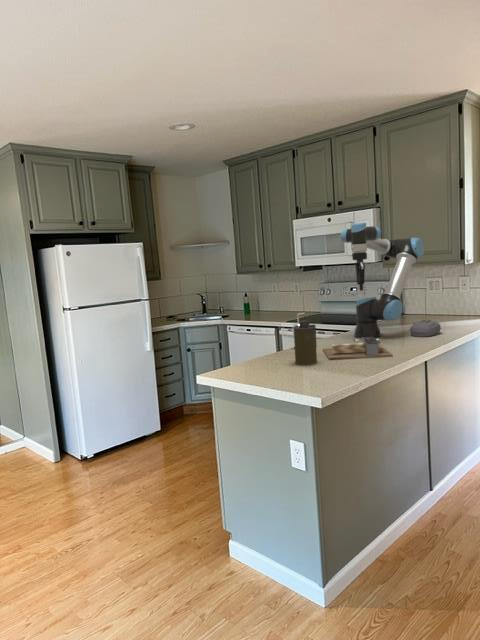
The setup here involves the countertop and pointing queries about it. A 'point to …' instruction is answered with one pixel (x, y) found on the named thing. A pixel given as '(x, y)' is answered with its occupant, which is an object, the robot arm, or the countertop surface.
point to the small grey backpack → (425, 328)
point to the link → (352, 348)
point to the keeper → (370, 346)
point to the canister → (305, 343)
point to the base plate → (354, 355)
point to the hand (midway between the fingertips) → (361, 296)
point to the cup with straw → (298, 321)
